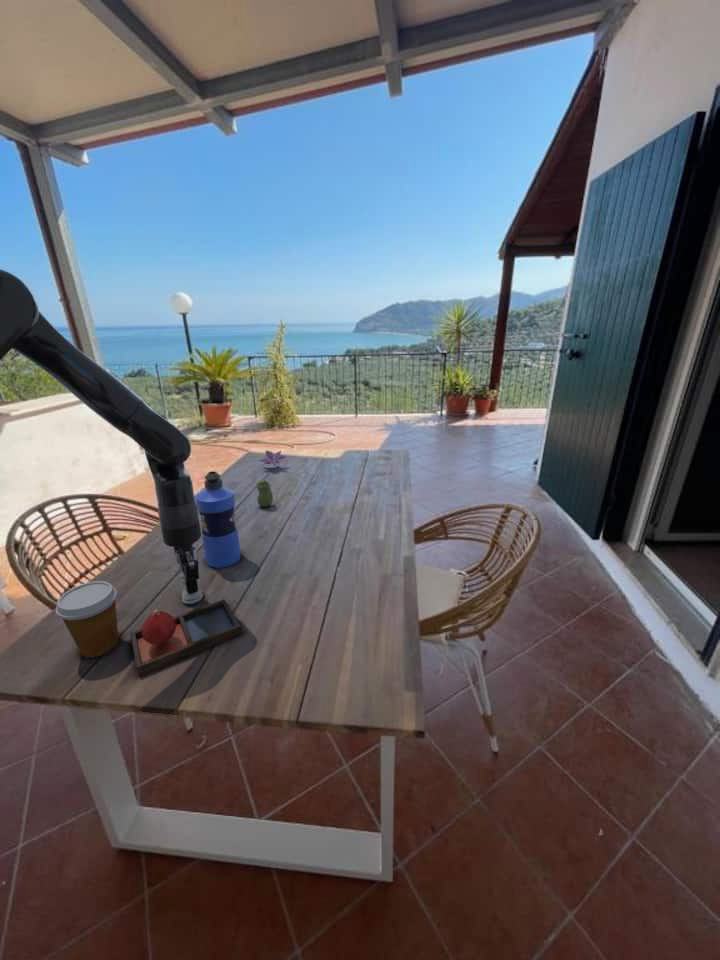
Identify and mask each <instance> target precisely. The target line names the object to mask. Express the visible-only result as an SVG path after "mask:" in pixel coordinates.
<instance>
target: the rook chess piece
mask: <svg viewBox="0 0 720 960" xmlns="http://www.w3.org/2000/svg"><path fill="white" fill-rule="evenodd" d="M180 576H181V577H183V578H182V582H183V581H184V583H183V588H184V589H183V591H182V594H181V600H182V601H181V602H182V603H184V604H186V605H194V604H197V603H199V602H200V601H201V600H202V599H203V596H204V594H203V591H202V589H201V588H200V586H198V591H197V592H195V593H192V594H188V592H187V587H186V582H185V580H184V573H183V572H180Z"/></svg>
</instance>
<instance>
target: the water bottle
mask: <svg viewBox="0 0 720 960" xmlns="http://www.w3.org/2000/svg"><path fill="white" fill-rule="evenodd" d="M221 477H222V475H221V474H219V473H218V472H217V471H209V472H207V474H205V476H204V479H205V480H204V488H205V489H204V490H202V491H200V492H199V493H197V494H196V495H195V502H196V505H197V510H198V515H199V518H200V521H201V538H202V544H203V550H204V557H205V564H206V565H207V566H209V567H211V568H214V569H215V568H216V569H217V568H220V569H221V568H227V567H230V566H232V565H235V564H237V563H238V562H239V561H240V559H241V557H242V556H241V555H242V554H241V548H240V539H239V531H238V526H237V522H236V518H235V511H236V510H235V506H236V499H235V492H234V490H233V489H230V488H226V487H223V480H222V478H221Z"/></svg>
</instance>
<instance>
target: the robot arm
mask: <svg viewBox="0 0 720 960" xmlns="http://www.w3.org/2000/svg"><path fill="white" fill-rule="evenodd" d="M11 350H13V351H14V352H17V353H18V354H20V355H21V356H23V357H24V358H26V359H28V360H29V361H31V362H32V363H33V364H35V365H36V366H37V367H39V368H41V369H42V370H43V371H44V372H46V373H47V374H49V375H50V377H52V378H53V379H54V380H56V381H57V382H58V383H59V384H60V385H62V387H64V388H65V389H67V390H68V391H69V392H70V394H72V395H73V396H74V397H75V398H77V399H78V400H79V401H81V402H82V403H83V404H84V405H85V406H86V407H88V408H89V409H90V410H92V412H94V413H95V414H96V415H97V416H99V417H100V418H101V419H103V420H104V421H105V422H106V423H108V424H109V425H110V426H111V427H113V428H114V429H116V430H117V431H119V432H120V433H122V434H124V435H125V436H127V437H129V438H130V439H132V440H133V441H134V442H135V443H136V444H138V445H139V446H140V447H141V448H142V449H143V450H144V454H145V459H146V462H147V464H148V467H149V470H150V473H151V475H152V478H153V483H154V489H155V491H154V492H155V496H156V501H157V513H158V520H159V526H160V530H161V535H162V541H163V543H164V544H165V546H168V547H171V548H172V549H173V553H174V555H175V560H176V563H177V565H178V567H179V571H180V573H182V572H183V573H184V580H185V582H186V587H187V592H188V594H192V593H195V592H197V591H198V587H199V586H198V585H199V584H198V580H200V574H199V573H200V571H199V560H198V559H197V548H196V546H194V543H196V542H198V541H199V540H200V539H201V538H202V529H201V525H200V516H199V511H198V509H197V503H196V497H195V493H194V486H193V481H192V477H191V475H190V474H189V473H188V471H187V470H186V469H187V468H185V462H186V461H187V460H188V459H189V458H190V456H191V453H192V445H191V441H190V439H189V438H188V436H187V435H186V434H185V433H184V432H182V431H181V430H180V429H179V428H178V427H176V426H175V425H174V424H172V423H171V422H170V421H169V420H167V419H166V418H165V417H163V416H161V415H160V414H159V413H158V412H156V411H155V410H154V409H153V408H151V406H150V405H148V403H147V402H146V401H145V400H143V398H141V397H140V396H139V395H138V394H137V393H135V391H133V390H132V389H131V388H129V386H128V385H126V384H125V383H124V382H123V381H121V380H120V379H119V378H118V377H117V376H115V375H114V374H112V373H111V372H109V370H107V369H106V368H105V367H103V366H102V365H100V364H99V363H98V362H96V361H95V360H94V359H92V358H91V357H89V356H88V355H86V354H85V353H84V352H83V351H82V350H80V349H79V348H78V347H77V346H75V345H74V344H73V343H72V342H71V341H70V340H68V339H67V338H66V337H65V336H64V335H63V334H62V333H61V332H60V331H58V329H56V328H55V327H54V326H53V324H52V323H51V322H50V320H48V319H47V318H46V317H45V315H44V314H42V312H41V311H40V308H39V305H38V301H37V299H36V297H35V295H34V293H33V291H32V290H31V289H30V288H29V286H28V285H27V284H25V282H24V281H23V280H21V278H19V277H17V275H15V274H13V273H11V272H9V271H6V270H4V269H1V268H0V362H1V361H2V360H3V359H4V358H5V357H6V356H7V355H8V354H9V352H10V351H11ZM181 577H182V576H181ZM182 579H183V577H182ZM182 583H183V584H184V581H183V580H182Z"/></svg>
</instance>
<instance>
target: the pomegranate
mask: <svg viewBox="0 0 720 960" xmlns="http://www.w3.org/2000/svg"><path fill="white" fill-rule="evenodd" d="M173 617H174V616H173V615H171V614H170V613H169V612H166V611H163V610H159V609H154V611H153V612H151V613H150V615H148V616H147V618H146V619H145V621H144V622H143V625H142V626H141V629H142V635H143V638H144V640H145V641H146V642H148V643H149V644H152V645H164V644H165V643H166V642H167V641H168V640H169V639H170V638H171V637H172V636H173V634H174V632H175V630H176V623H175V620H174V618H173Z"/></svg>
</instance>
